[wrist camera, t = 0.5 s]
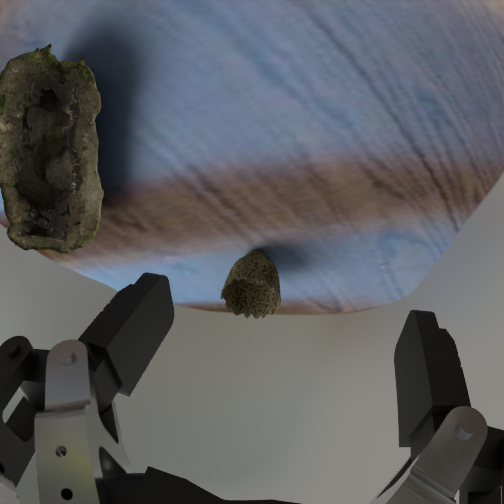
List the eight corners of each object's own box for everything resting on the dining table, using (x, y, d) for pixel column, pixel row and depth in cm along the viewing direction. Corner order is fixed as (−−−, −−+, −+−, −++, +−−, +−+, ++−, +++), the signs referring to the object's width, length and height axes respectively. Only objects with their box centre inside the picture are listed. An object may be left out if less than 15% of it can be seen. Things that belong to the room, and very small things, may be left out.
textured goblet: (288, 273, 46) (285, 317, 40) (240, 278, 48) (231, 321, 42) (277, 233, 42) (272, 277, 36) (224, 241, 44) (212, 283, 38)
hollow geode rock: (107, 30, 29) (-4, 32, 19) (139, 52, 24) (-16, 54, 14) (76, 198, 46) (-6, 214, 36) (98, 253, 41) (2, 277, 31)
